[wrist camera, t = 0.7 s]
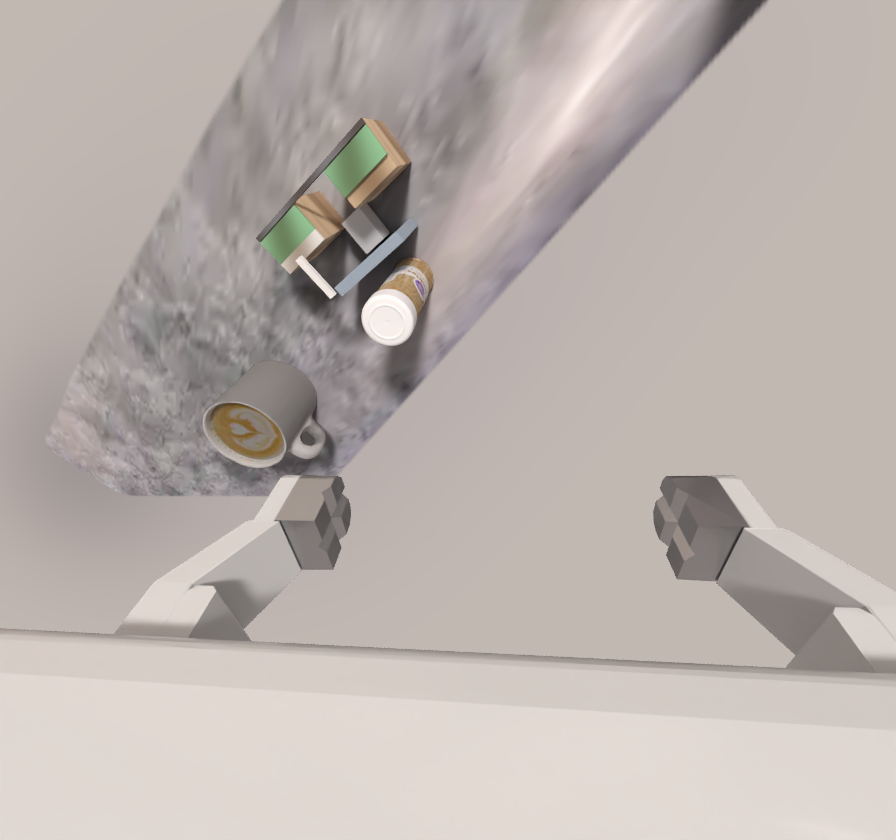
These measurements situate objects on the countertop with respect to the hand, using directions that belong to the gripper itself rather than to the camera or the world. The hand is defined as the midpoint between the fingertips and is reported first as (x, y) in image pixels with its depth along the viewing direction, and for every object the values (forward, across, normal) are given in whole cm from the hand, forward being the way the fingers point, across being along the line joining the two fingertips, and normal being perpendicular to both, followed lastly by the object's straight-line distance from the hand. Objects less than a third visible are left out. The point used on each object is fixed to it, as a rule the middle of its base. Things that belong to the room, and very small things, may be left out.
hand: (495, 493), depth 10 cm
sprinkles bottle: (+38, +9, +4) cm, 39 cm away
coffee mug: (+38, +28, +20) cm, 51 cm away
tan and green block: (+37, +14, -4) cm, 40 cm away
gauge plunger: (+37, +12, -1) cm, 39 cm away
